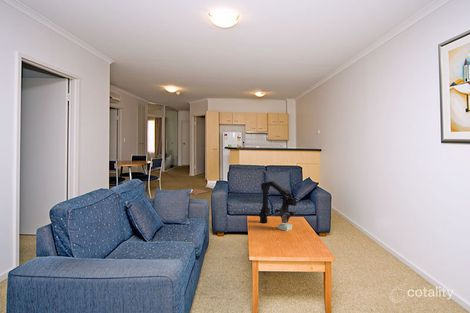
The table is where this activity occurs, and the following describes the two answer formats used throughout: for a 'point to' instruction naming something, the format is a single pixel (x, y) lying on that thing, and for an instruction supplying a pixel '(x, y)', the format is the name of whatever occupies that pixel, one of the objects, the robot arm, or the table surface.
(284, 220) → the walnut block
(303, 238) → the table surface
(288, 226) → the sage base block
